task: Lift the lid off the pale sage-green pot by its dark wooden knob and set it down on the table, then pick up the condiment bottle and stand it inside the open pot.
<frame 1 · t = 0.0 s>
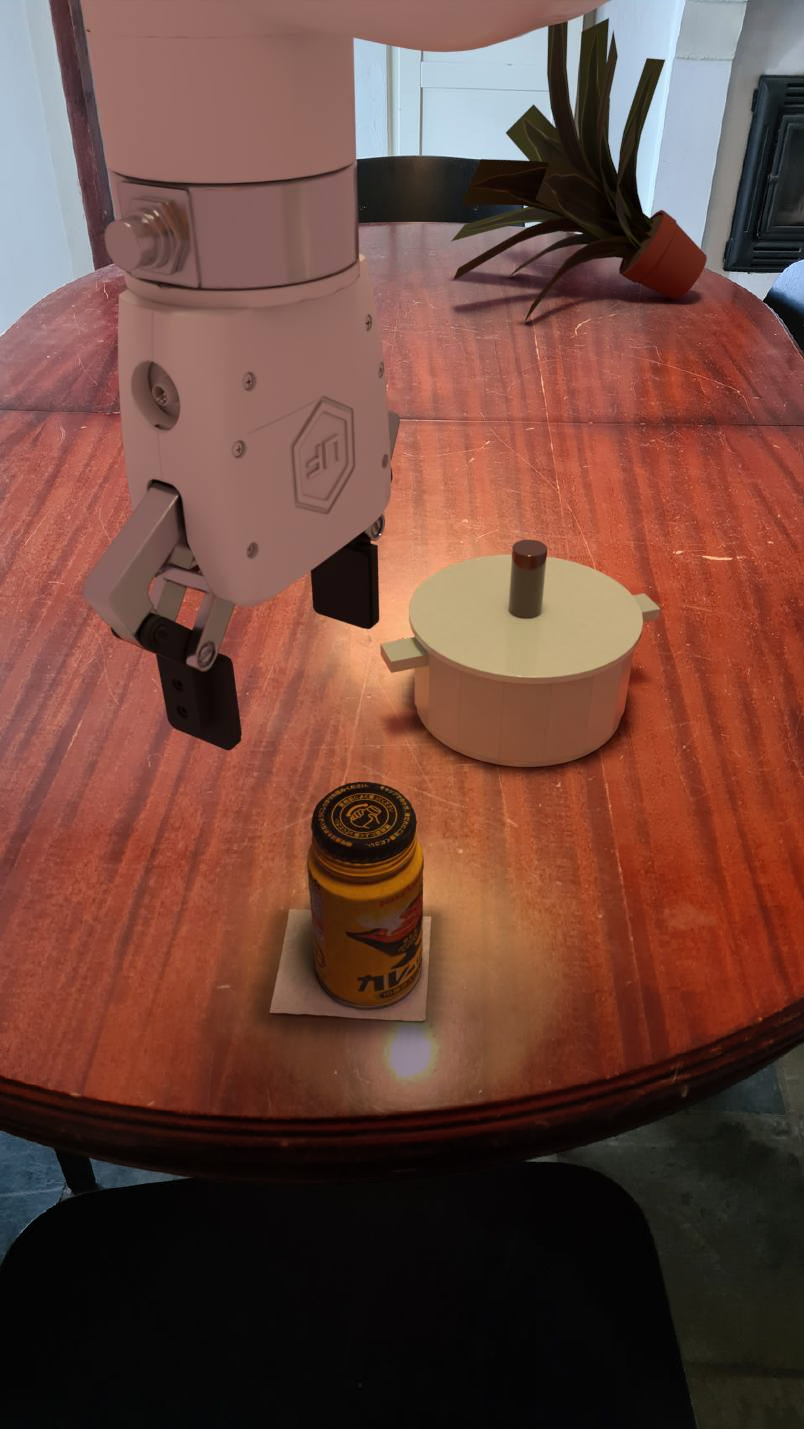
hand: (281, 672, 43), 22 cm above the table, tool pointing down, fingers open, 9 cm apart
knife: (262, 573, 95), on the table
lid: (524, 617, 74), point 7 cm above the table, touching pot
potted plant: (569, 299, 163), on the table
mug: (256, 441, 119), on the table
pot: (517, 701, 79), on the table
condiment: (354, 967, 59), on the table
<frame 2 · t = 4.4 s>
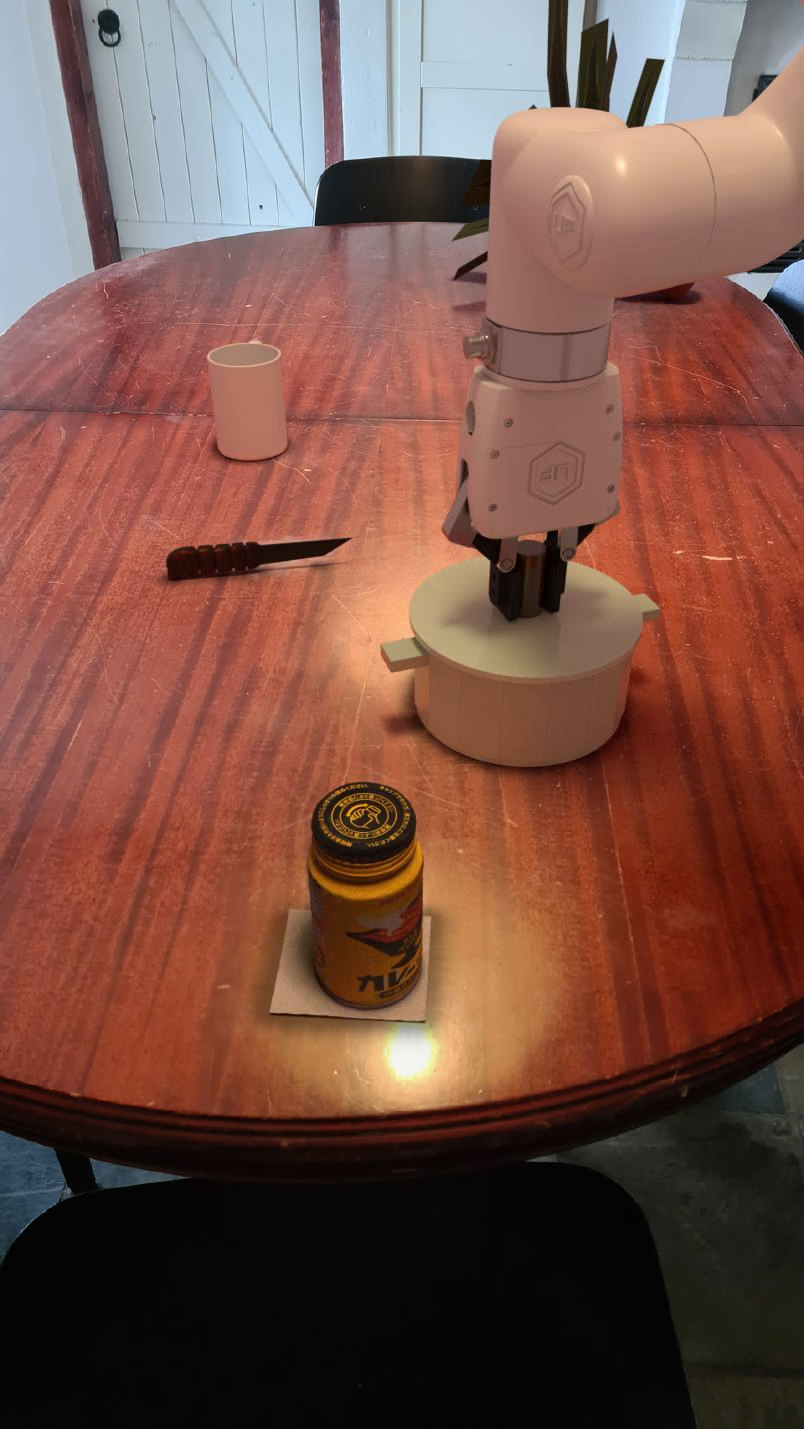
hand: (525, 605, 73), 8 cm above the table, tool pointing down, fingers closed on lid, 2 cm apart
lid: (524, 617, 74), point 8 cm above the table, touching gripper, pot
everything else where it was.
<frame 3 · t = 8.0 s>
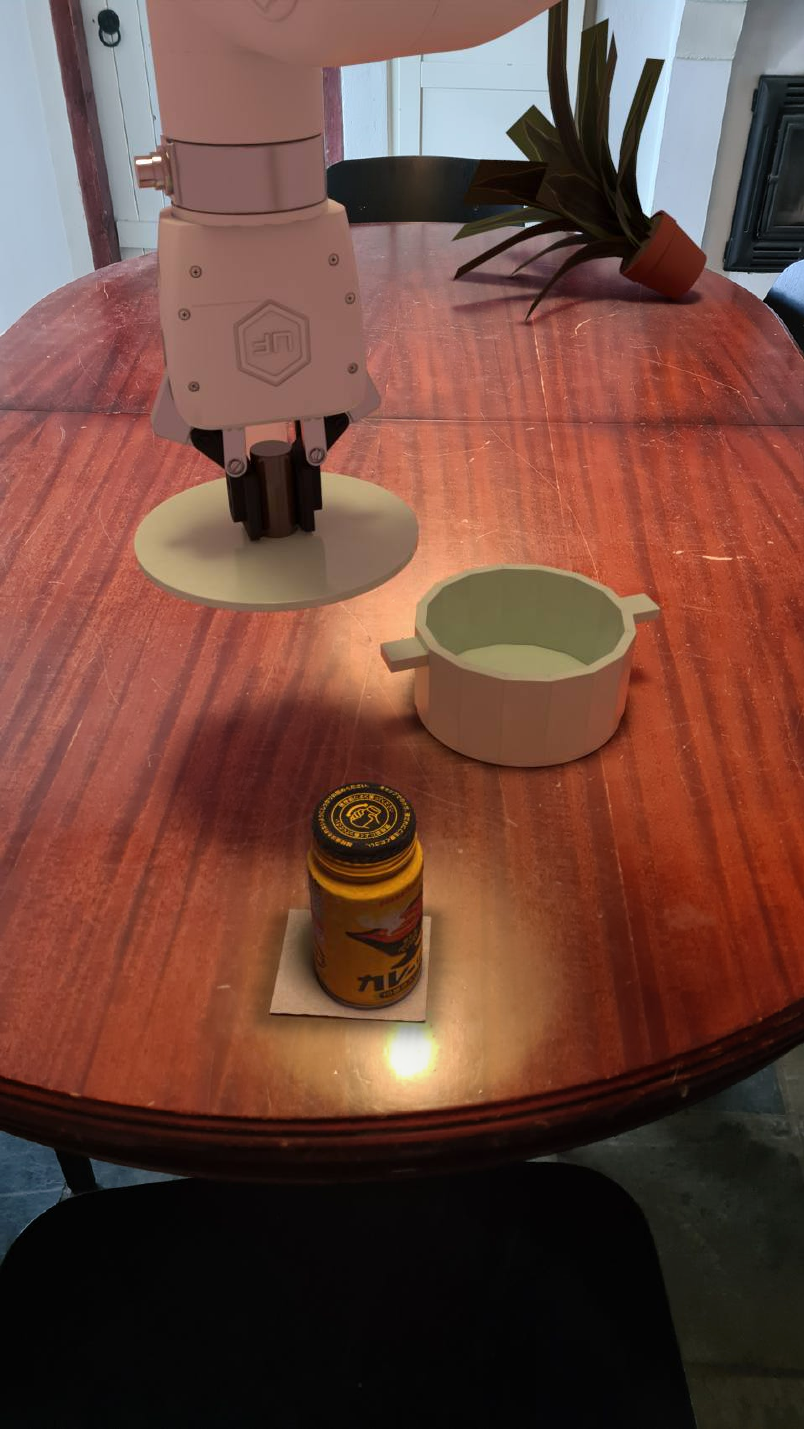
hand: (277, 523, 60), 19 cm above the table, tool pointing down, fingers closed on lid, 2 cm apart
lid: (278, 538, 61), point 18 cm above the table, touching gripper
everything else where it was.
when the fingers open (2 cm above the table, at t = 11.9 s): lid stays where it is, point 1 cm above the table.
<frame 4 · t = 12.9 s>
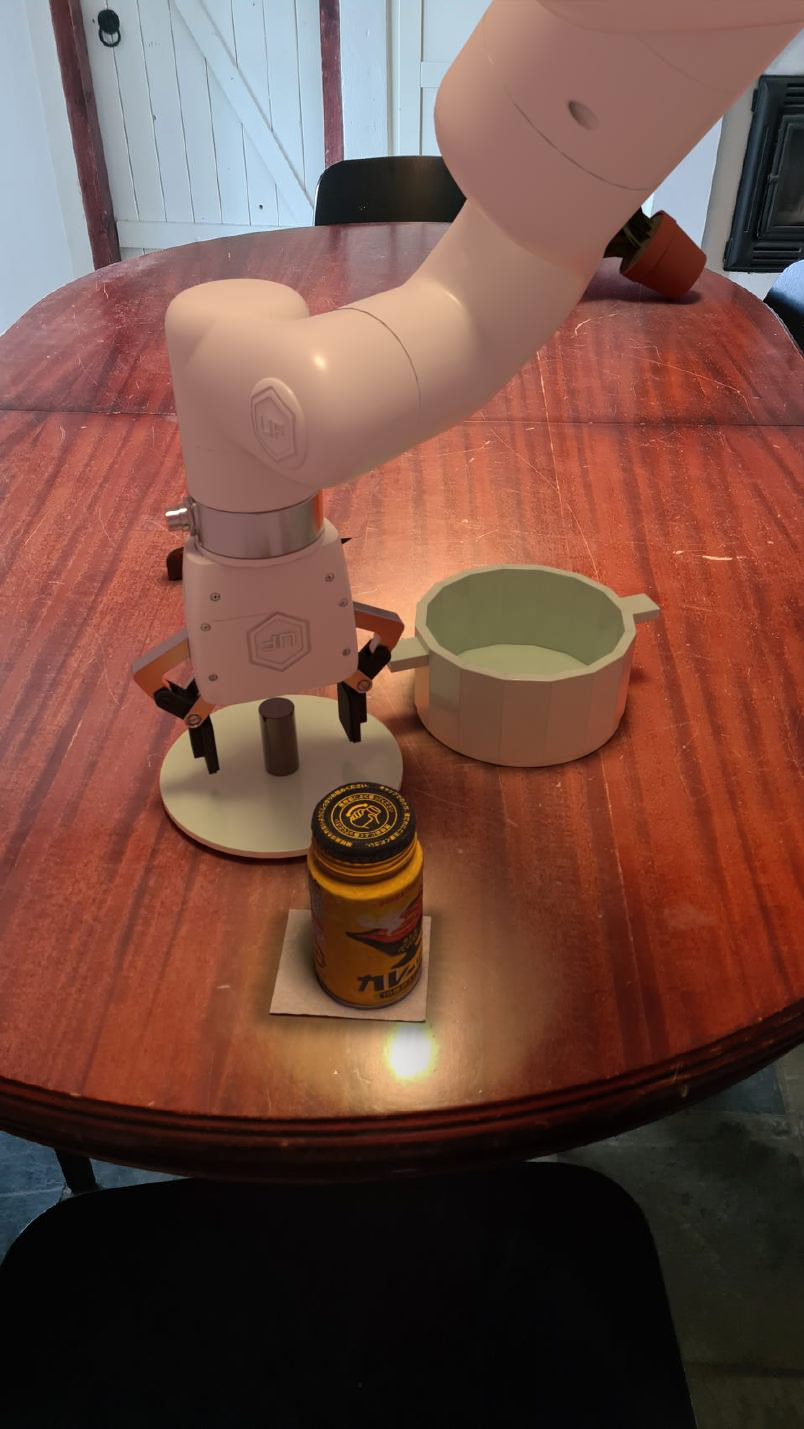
hand: (281, 745, 70), 3 cm above the table, tool pointing down, fingers open, 9 cm apart
lid: (282, 772, 71), point 1 cm above the table
everything else where it was.
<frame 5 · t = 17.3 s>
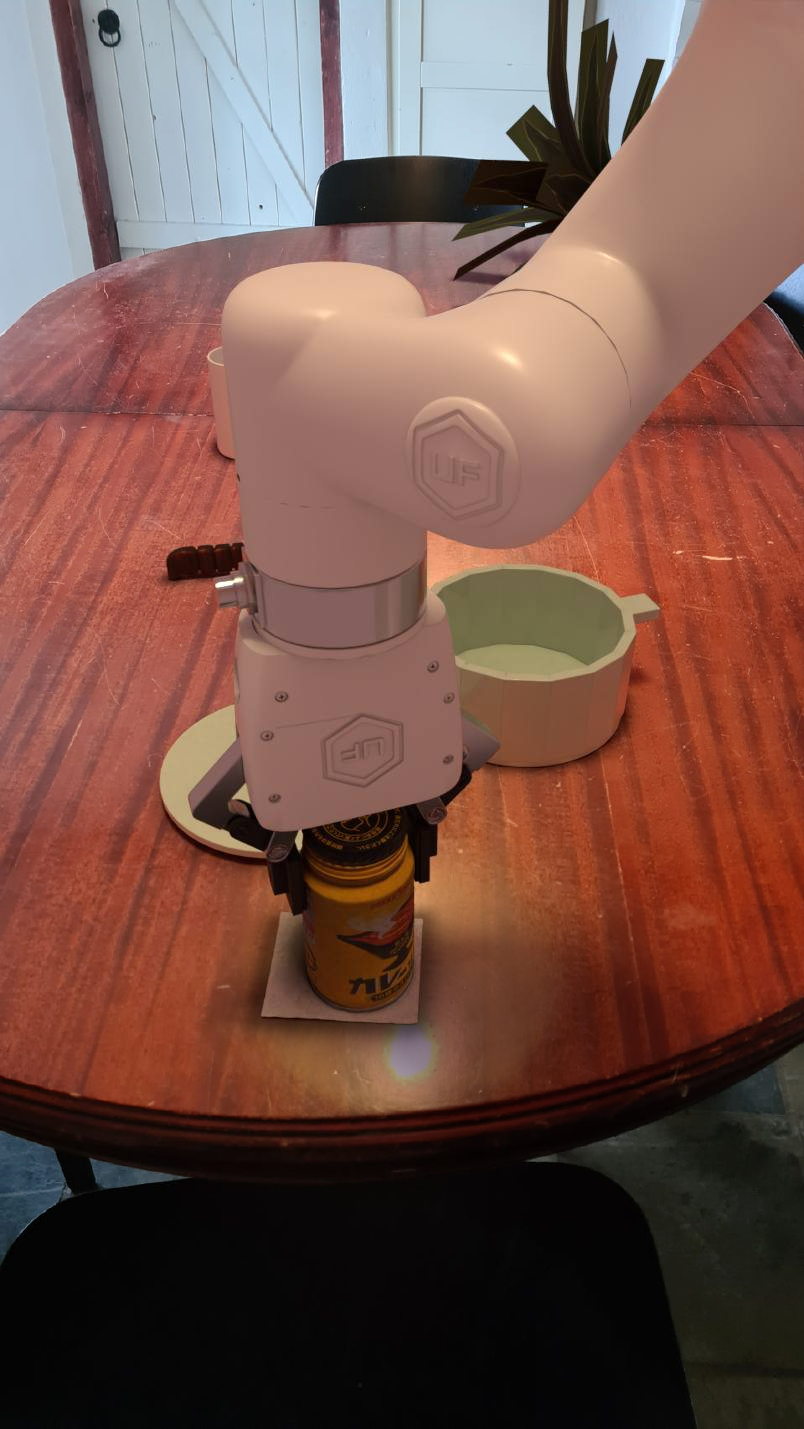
hand: (354, 877, 54), 7 cm above the table, tool pointing down, fingers closed on condiment, 6 cm apart
condiment: (345, 969, 59), on the table, touching gripper
everything else where it was.
when the fingers open (8 cm above the table, at t = 25.6 s): condiment stays where it is, resting on pot.
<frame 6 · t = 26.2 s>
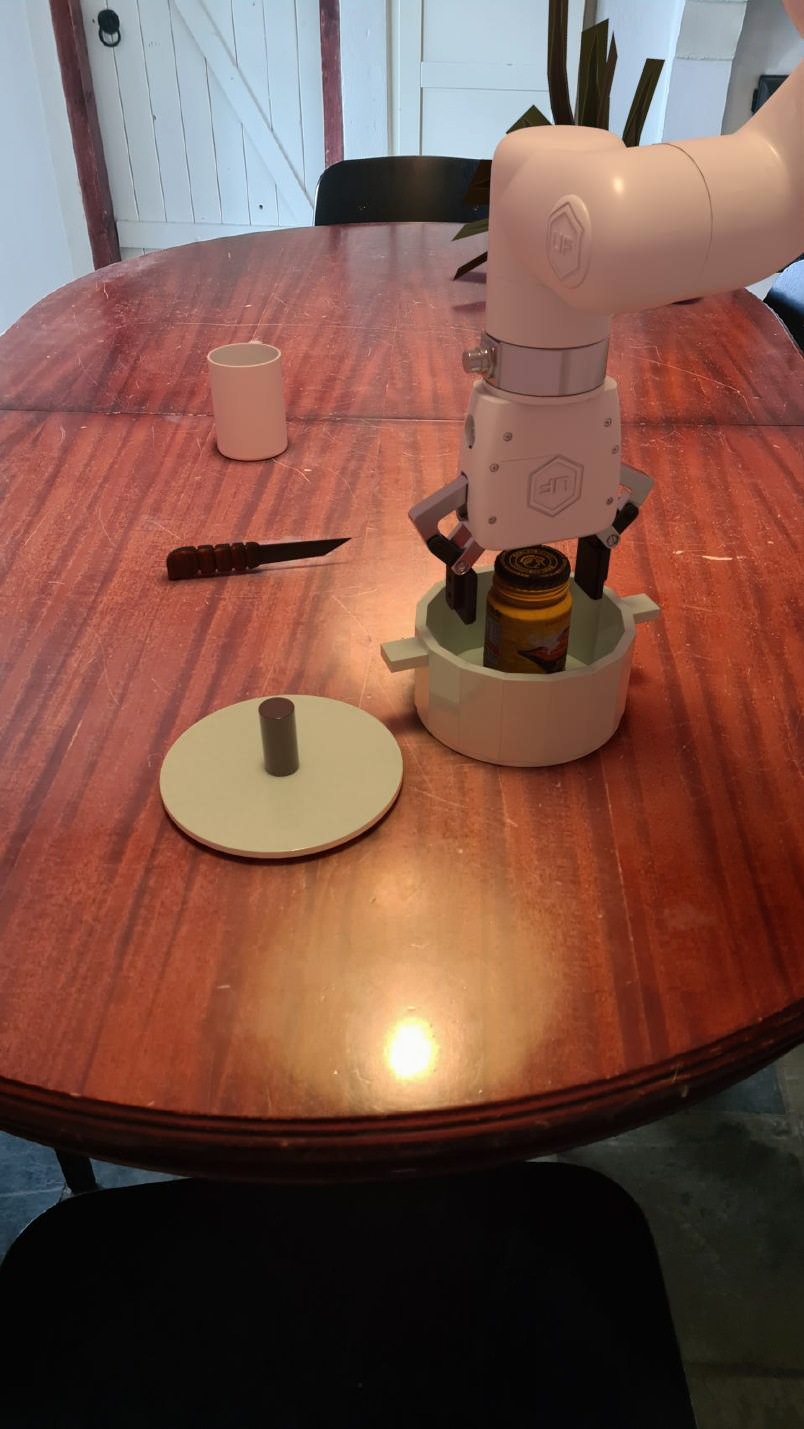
hand: (526, 602, 73), 9 cm above the table, tool pointing down, fingers open, 9 cm apart
condiment: (509, 700, 78), resting on pot
everything else where it was.
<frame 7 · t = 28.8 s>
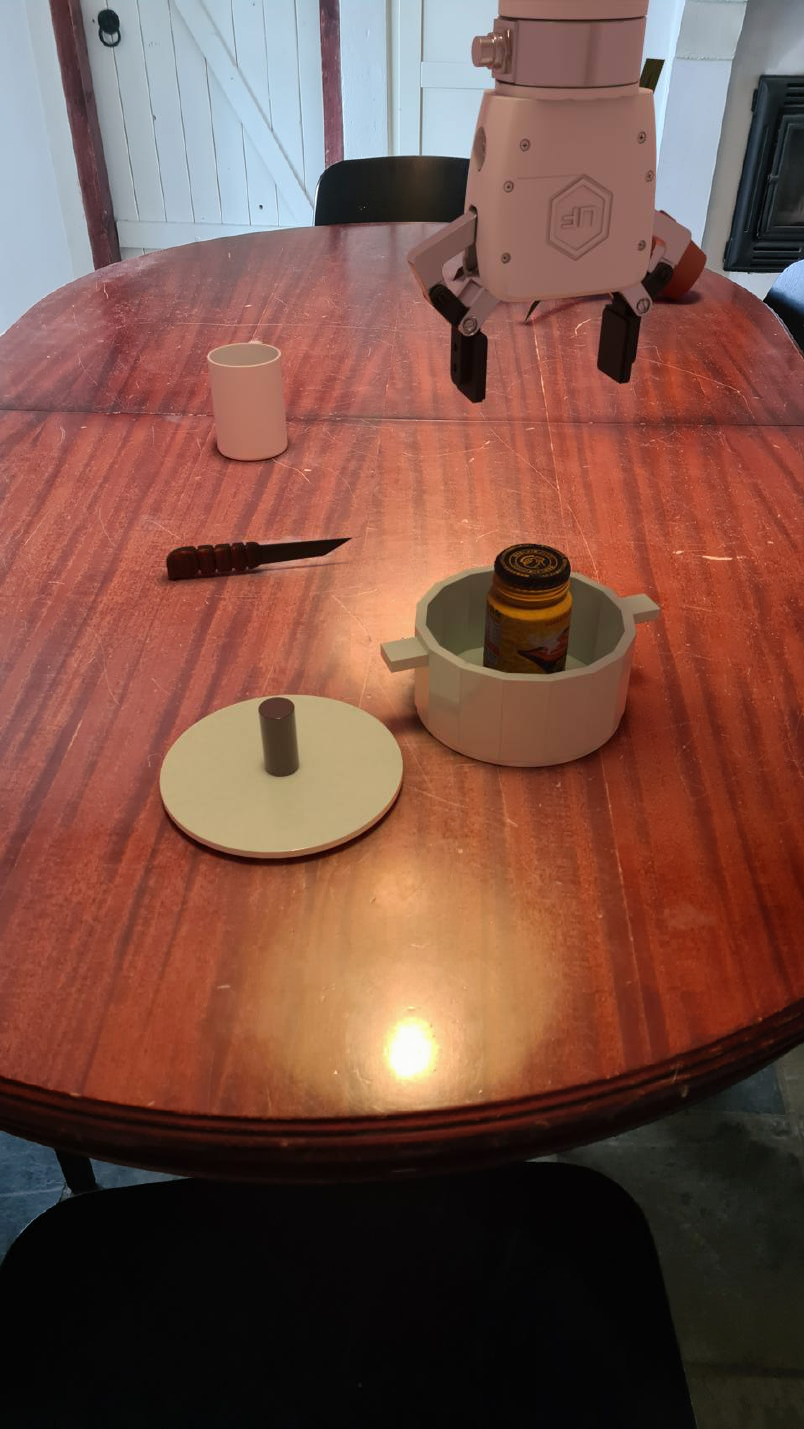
hand: (542, 385, 64), 24 cm above the table, tool pointing down, fingers open, 9 cm apart
nothing on the table moved.
at the end: condiment 0.8 cm off-centre in the pot, point 0.3 cm above the pot's base; condiment tilted 0°; lid inside the target area (0.0 cm from its centre), point 0.6 cm above the table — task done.
